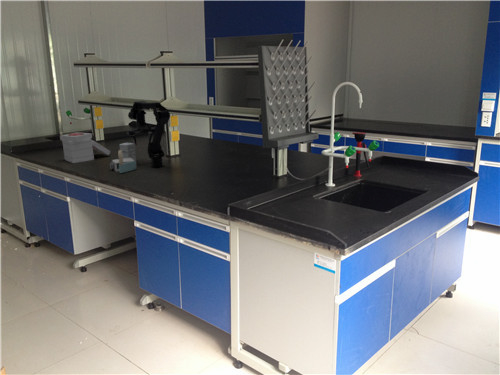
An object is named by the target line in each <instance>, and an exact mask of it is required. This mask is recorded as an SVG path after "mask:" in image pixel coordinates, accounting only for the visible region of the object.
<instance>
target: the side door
mask: <svg viewBox="0 0 500 375" xmlns="http://www.w3.org/2000/svg"><path fill="white" fill-rule="evenodd" d="M117 152H118V154H117V155H118V159H119V171H118V172H119V174H123V173H128V172H130V171H135V170H137V169H138V168H137V160H136V161H131V162H127V163H123V155H122V150H120V149H119V150H117Z"/></svg>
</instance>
